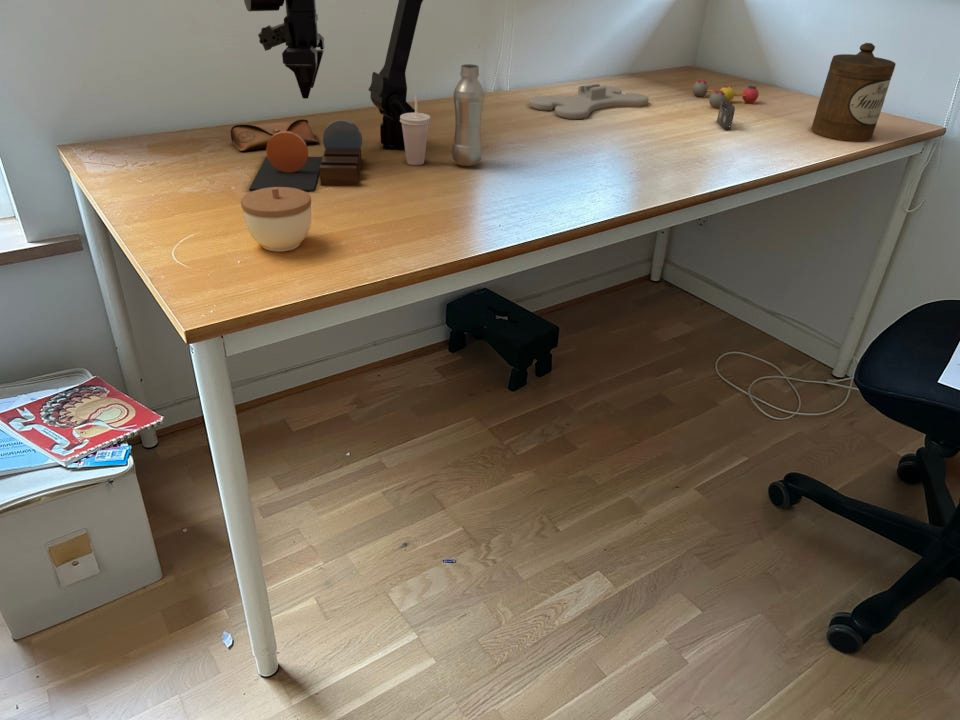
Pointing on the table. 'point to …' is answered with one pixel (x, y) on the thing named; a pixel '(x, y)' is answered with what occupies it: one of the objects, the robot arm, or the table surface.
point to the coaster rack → (340, 166)
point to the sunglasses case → (268, 133)
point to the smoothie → (415, 135)
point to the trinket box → (277, 217)
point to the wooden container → (853, 95)
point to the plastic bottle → (468, 117)
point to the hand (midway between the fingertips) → (308, 92)
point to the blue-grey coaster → (342, 135)
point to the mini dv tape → (725, 114)
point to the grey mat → (288, 176)
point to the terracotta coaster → (287, 151)
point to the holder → (587, 101)
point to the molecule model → (724, 93)
